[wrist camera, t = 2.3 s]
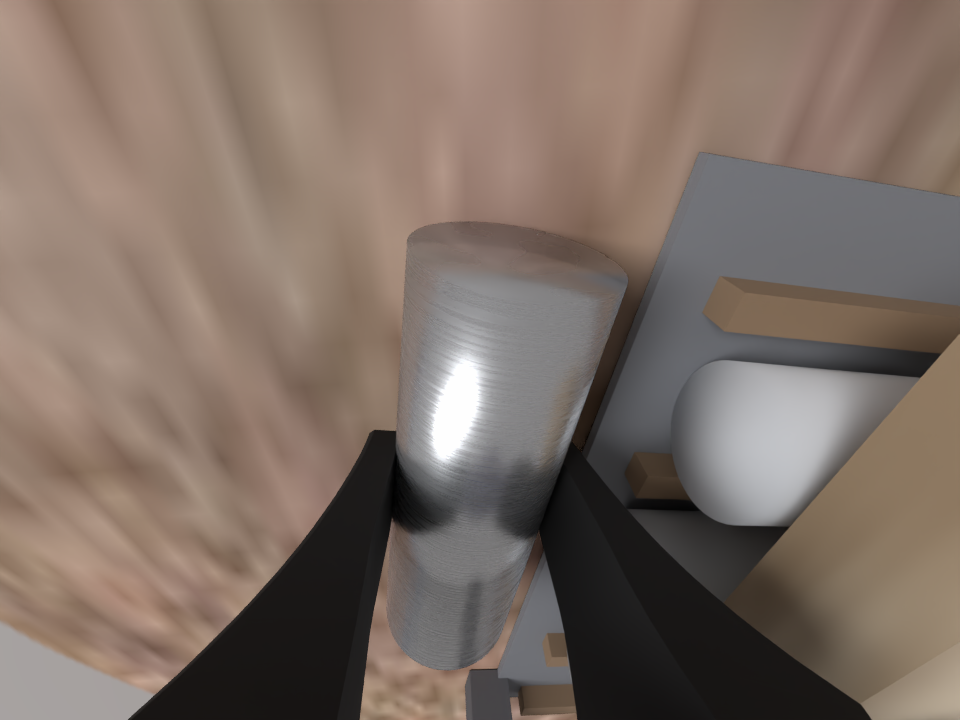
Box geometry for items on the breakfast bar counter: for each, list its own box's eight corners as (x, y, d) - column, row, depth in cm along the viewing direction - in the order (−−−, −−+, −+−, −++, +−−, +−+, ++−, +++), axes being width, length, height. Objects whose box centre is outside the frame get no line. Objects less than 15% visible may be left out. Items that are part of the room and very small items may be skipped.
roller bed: (1269, 250, 12) (2008, 392, 6) (759, 679, 26) (842, 832, 21) (634, 140, 9) (958, 224, 3) (463, 690, 24) (470, 870, 18)
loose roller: (413, 212, 9) (396, 284, 6) (588, 235, 10) (669, 313, 6) (392, 545, 15) (379, 672, 12) (498, 546, 16) (514, 668, 13)
